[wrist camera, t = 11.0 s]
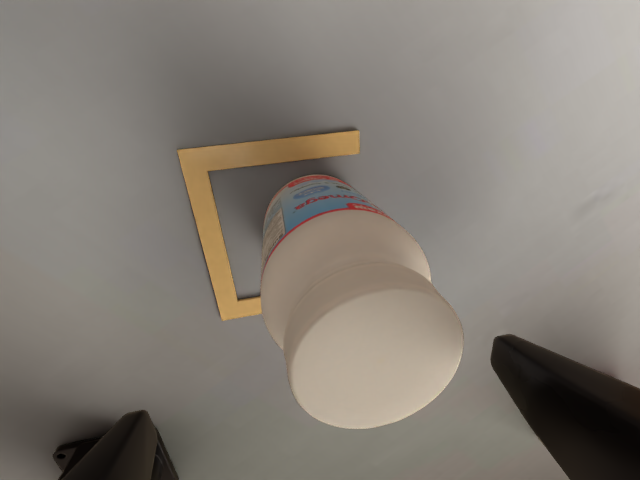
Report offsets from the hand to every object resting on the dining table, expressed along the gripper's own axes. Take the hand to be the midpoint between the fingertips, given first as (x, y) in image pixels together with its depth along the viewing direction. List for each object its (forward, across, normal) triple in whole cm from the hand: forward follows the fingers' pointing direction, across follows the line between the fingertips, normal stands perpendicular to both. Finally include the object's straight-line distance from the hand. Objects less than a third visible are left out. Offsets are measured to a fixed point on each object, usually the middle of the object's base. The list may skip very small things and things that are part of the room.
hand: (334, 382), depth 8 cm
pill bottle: (+11, -1, 0) cm, 11 cm away
